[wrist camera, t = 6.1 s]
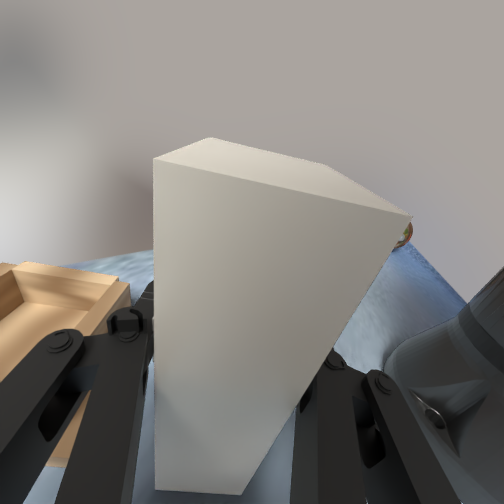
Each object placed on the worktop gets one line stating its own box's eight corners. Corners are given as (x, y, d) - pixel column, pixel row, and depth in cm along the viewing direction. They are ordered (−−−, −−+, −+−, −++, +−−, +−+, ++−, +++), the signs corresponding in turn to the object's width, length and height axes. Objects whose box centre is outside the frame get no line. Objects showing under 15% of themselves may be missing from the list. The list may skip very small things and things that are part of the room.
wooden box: (156, 321, 22) (156, 282, 20) (86, 469, 13) (69, 430, 10) (3, 298, 21) (-18, 253, 18) (-206, 447, 11) (-307, 396, 9)
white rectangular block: (244, 390, 18) (325, 165, 10) (241, 495, 13) (413, 216, 4) (182, 383, 18) (209, 137, 9) (154, 489, 13) (153, 158, 4)
